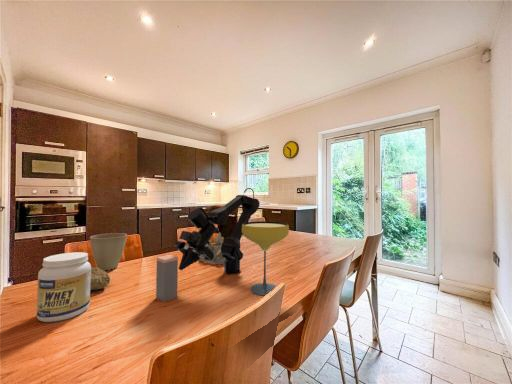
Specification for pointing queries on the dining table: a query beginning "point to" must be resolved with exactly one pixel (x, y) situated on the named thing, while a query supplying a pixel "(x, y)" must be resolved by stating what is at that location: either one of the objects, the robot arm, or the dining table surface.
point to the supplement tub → (63, 286)
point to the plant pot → (108, 249)
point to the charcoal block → (166, 277)
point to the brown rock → (98, 279)
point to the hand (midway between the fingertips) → (179, 269)
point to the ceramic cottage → (215, 251)
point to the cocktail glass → (264, 244)
